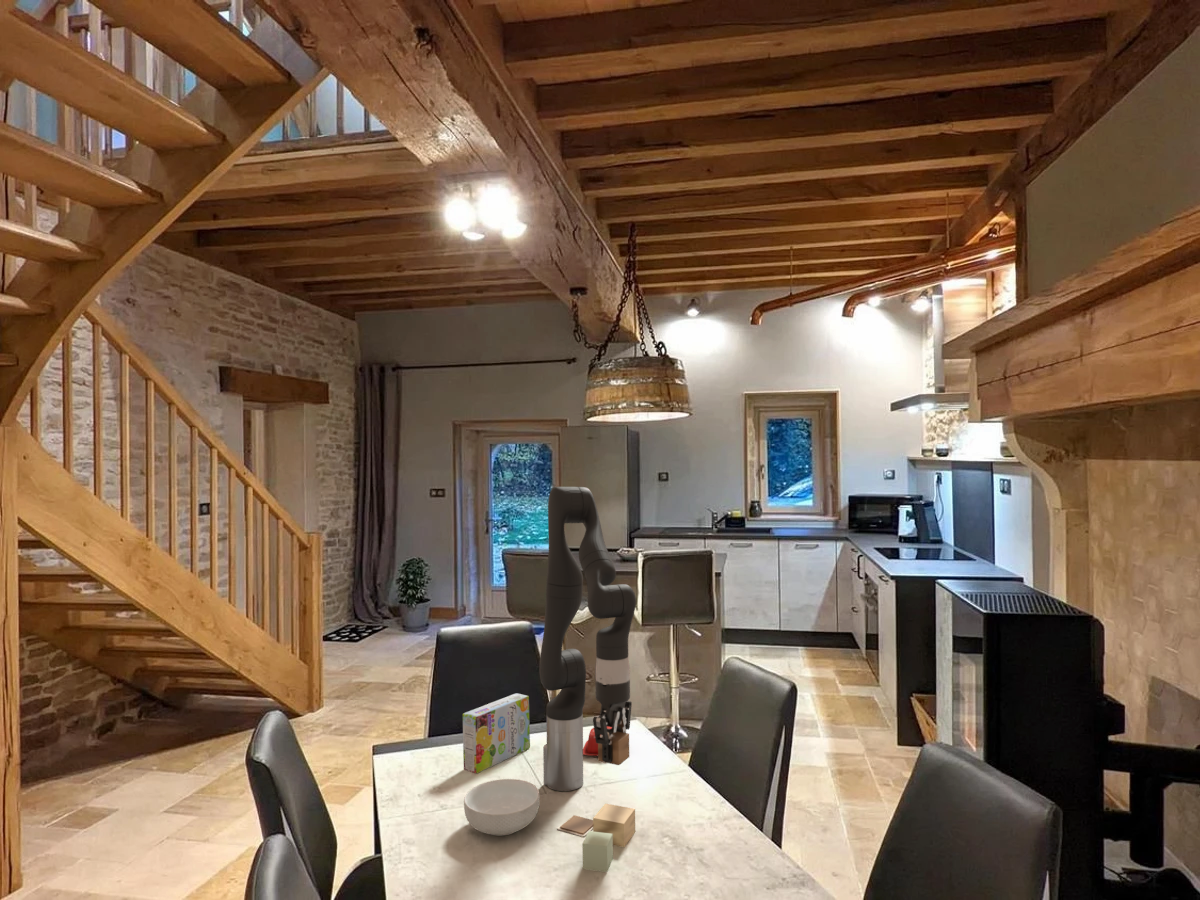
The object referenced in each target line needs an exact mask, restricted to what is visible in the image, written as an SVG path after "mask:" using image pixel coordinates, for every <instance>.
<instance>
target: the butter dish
mask: <svg viewBox="0 0 1200 900" xmlns="http://www.w3.org/2000/svg"><path fill="white" fill-rule="evenodd" d="M611 728H612V727H608V726H607V729H611ZM600 736H601V735H600ZM583 756H589V757H598V743H596V739H595V732H594V727H592V728H591V729H590V730H589V734H588V739H587V740H586V741H585V743H584V744H583Z"/></svg>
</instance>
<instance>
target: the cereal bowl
mask: <svg viewBox="0 0 1200 900" xmlns="http://www.w3.org/2000/svg"><path fill="white" fill-rule="evenodd" d="M539 808H540V790H539V789H538V787H537V786H536V785H534V784H533V782H532V783H531V781H530V782H529V781H527V780H523V779H517V778H499V779H494V780H493V779H492V780H489V781H485V782H482V783H479V784H477V785H475V786H473V787H472V788H471V789H469V790H468V791H467V792H466V793H465V794H464V798H463V811H464V815H465V818H466V821H468V824H469V825H470V826H472V828H474V829H475V830H477V831H479V832H480V833H484V834H488V835H492V836H495V837H496V836H501V837H502V836H508V835H512V834H513V833H515V832H518V831H521V830H522V829H523V828H526V827H527V826H528V825H529V824H531V823H532V822H533V820H534V819H535V818H536V816H537V814H538V812H539Z"/></svg>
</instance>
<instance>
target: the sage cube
mask: <svg viewBox="0 0 1200 900" xmlns="http://www.w3.org/2000/svg"><path fill="white" fill-rule="evenodd" d="M581 847H582V870H588V871H597V872H604V873H607V872H608V871H609V869H610V867H611V864H612V862H613V859H614V845H613V834H611V833H602V832H593V830H591V831H589V832H588V834H587V835H586V836H585V837H584V840H583V842H582V846H581Z"/></svg>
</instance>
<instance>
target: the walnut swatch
mask: <svg viewBox="0 0 1200 900" xmlns="http://www.w3.org/2000/svg"><path fill="white" fill-rule="evenodd" d="M556 829H557V830H558V831H560V832H561V831H562V832H564V833H568V834H572V835H576V836H580V837H582V838H586V836H587V834H588V832H589V831H593V819H590V818H586V817H582V816H579V815H574V814H573V815H572V816H571V817H570V818H569V819H567V820H566V821H564V822H563V824H561V825H560V826H559V827H557V828H556Z"/></svg>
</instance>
